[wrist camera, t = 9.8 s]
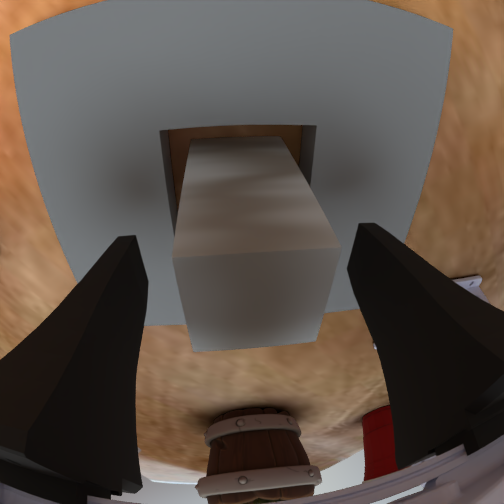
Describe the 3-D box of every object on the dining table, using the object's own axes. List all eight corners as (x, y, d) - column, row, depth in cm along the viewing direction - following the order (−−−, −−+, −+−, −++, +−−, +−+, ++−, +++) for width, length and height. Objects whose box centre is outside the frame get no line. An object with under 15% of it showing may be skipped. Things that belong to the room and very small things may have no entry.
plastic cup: (338, 430, 46) (353, 490, 36) (359, 407, 39) (379, 480, 30) (391, 416, 47) (408, 472, 38) (418, 392, 40) (441, 456, 31)
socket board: (427, 25, 10) (453, 28, 8) (368, 284, 21) (378, 306, 19) (33, 31, 8) (9, 35, 7) (105, 302, 19) (99, 326, 17)
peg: (280, 136, 13) (341, 247, 7) (275, 209, 16) (315, 341, 10) (191, 139, 13) (171, 257, 7) (197, 213, 16) (193, 351, 10)
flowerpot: (308, 387, 31) (344, 558, 15) (305, 426, 41) (328, 544, 25) (177, 405, 31) (186, 573, 15) (210, 439, 41) (221, 556, 25)
